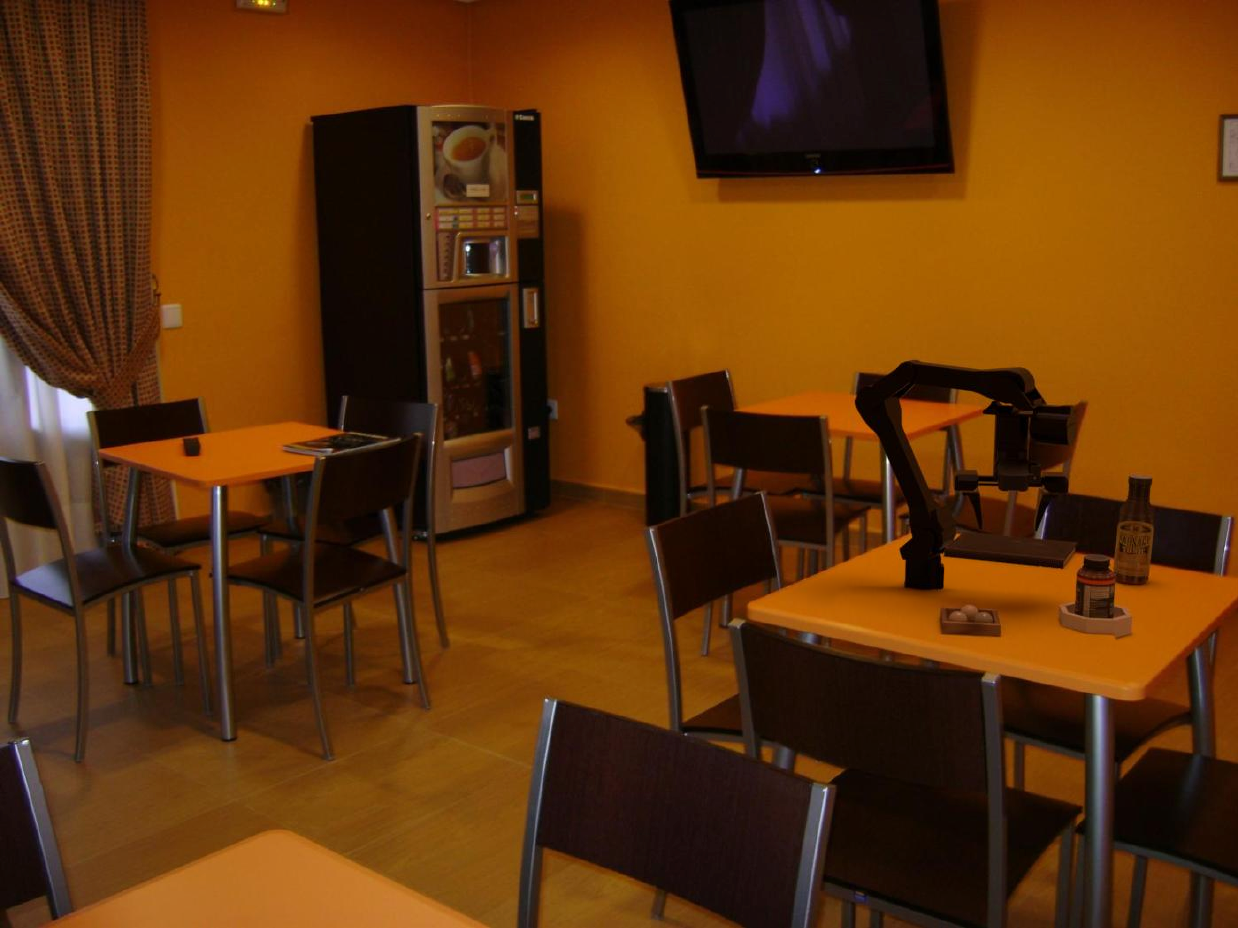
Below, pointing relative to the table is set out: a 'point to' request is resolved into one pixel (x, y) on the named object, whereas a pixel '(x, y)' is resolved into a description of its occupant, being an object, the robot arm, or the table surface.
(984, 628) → the pebble tray
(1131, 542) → the sauce bottle
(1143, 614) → the table surface
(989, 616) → the pebble
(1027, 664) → the table surface
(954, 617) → the pebble
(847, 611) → the table surface
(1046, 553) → the hardcover book
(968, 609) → the pebble
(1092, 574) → the supplement bottle
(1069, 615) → the dish
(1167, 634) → the table surface
